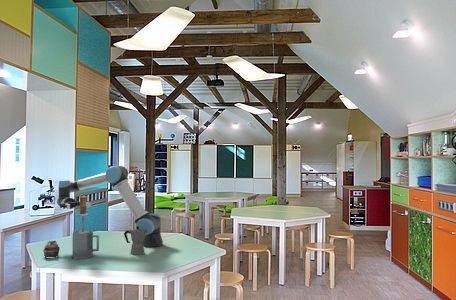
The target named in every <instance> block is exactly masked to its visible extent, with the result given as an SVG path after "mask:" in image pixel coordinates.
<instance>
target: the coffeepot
mask: <svg viewBox="0 0 456 300" xmlns="http://www.w3.org/2000/svg"><path fill="white" fill-rule="evenodd" d="M136 228H137V229H136ZM147 232H148V231H146V230H141V229H139V227H138V226H137V227H136V226H135V229H132V230H131V229H130V230H125V231H124V233H123V235H124V239H125V241H126V243H127V244H130V243H131V242H132V244H131V248H130V252H129V254H130V255H132V256H140V255H141V256H142V255H144V254H145V252H146V251H145V247H144V246H143V240H144V236H145V234H146V233H147ZM128 234H130V237H131V241H129V238H128Z"/></svg>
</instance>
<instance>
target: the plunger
mask: <svg viewBox="0 0 456 300" xmlns="http://www.w3.org/2000/svg"><path fill="white" fill-rule="evenodd" d="M78 198H79V202H80V206H79V213H77V216H79V217H81V230H82V231H79V230H77V231H78V232H76V233H88V232H90V231H84V230H85V217H86V216H89V213H87V206H86V202H87V199H88V196H85V195H84V196H79V197H78Z"/></svg>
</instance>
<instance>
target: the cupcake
mask: <svg viewBox="0 0 456 300" xmlns="http://www.w3.org/2000/svg"><path fill="white" fill-rule="evenodd" d="M59 253H60V246H59V244H58V242H57V241H56V240H52V241H47V243H46V244H45V246H44V248H43V256H45V257H56V256H58V257H59ZM45 257H44V258H45ZM56 258H57V257H56Z"/></svg>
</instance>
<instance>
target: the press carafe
mask: <svg viewBox="0 0 456 300" xmlns="http://www.w3.org/2000/svg"><path fill="white" fill-rule="evenodd" d="M78 231H82V229H79V230H75V231H74V230H73V231H72V253H71V254H72V255H71V258H72V259H73V258H75V260H85V259H86V258H87V259H91V258H93V257H94V252H99V251H100V235H98V234H94V230H90V229H84V231H90V232H88V233H76V232H78ZM94 238H96V248H94Z"/></svg>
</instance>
